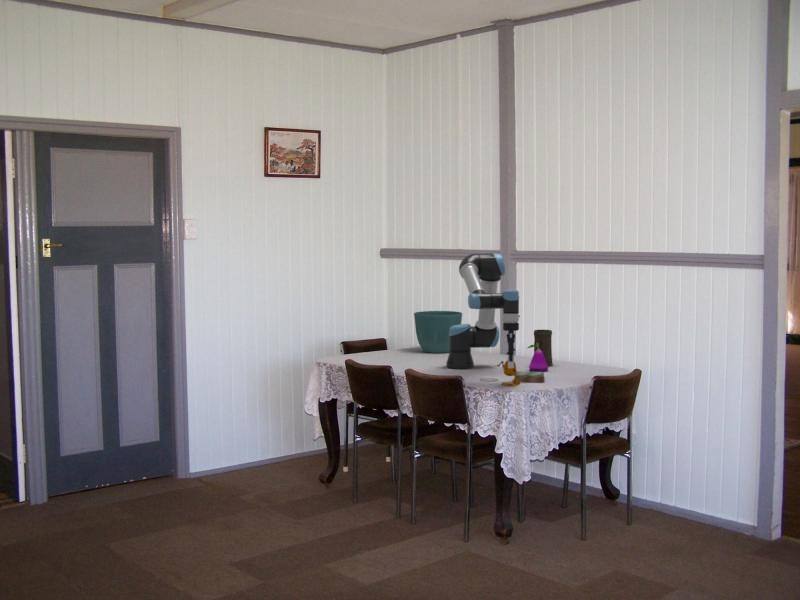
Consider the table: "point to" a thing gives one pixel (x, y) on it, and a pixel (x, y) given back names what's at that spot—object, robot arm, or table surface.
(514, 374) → the figurine
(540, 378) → the podium
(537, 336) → the beer stein
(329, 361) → the table surface
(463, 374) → the table surface
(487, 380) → the coaster
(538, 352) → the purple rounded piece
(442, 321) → the flower pot
